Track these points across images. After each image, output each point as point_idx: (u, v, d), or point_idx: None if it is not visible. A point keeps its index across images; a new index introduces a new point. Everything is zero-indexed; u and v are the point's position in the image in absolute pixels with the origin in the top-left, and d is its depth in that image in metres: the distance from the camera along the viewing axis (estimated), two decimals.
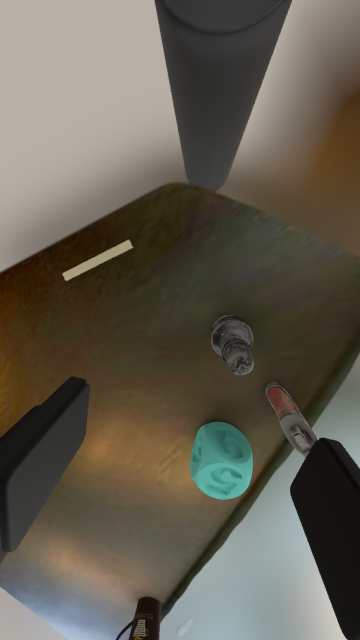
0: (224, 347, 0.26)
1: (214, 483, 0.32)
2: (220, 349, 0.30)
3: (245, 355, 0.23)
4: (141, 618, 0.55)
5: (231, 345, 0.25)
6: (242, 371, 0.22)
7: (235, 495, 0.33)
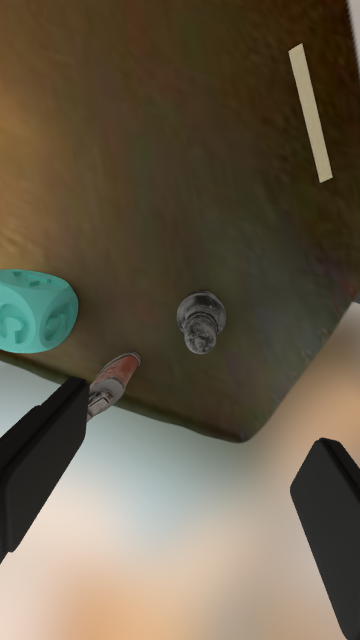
0: (207, 314, 0.21)
1: None
2: (189, 305, 0.24)
3: (213, 345, 0.18)
4: None
5: (212, 323, 0.21)
6: (199, 345, 0.17)
7: None
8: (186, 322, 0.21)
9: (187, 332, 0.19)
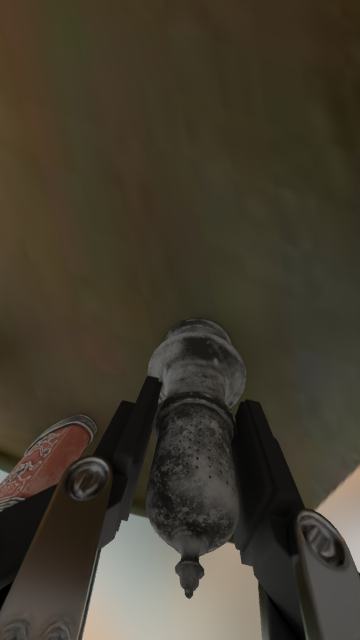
0: (210, 401, 0.08)
1: None
2: (172, 356, 0.12)
3: None
4: None
5: (223, 427, 0.08)
6: (187, 582, 0.05)
7: None
8: (159, 416, 0.09)
9: (151, 492, 0.06)
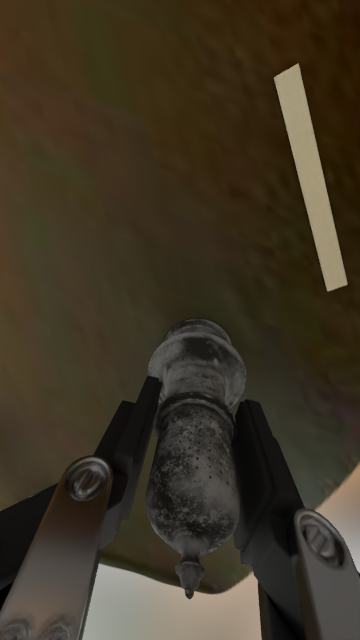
0: (210, 401, 0.08)
1: None
2: (172, 357, 0.12)
3: None
4: None
5: (223, 427, 0.08)
6: (188, 583, 0.05)
7: None
8: (159, 417, 0.09)
9: (151, 492, 0.06)
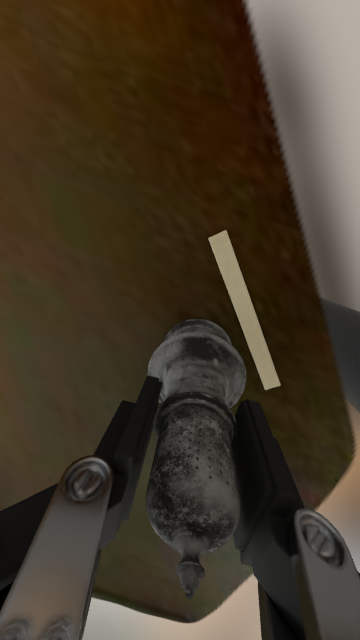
0: (210, 401, 0.08)
1: None
2: (172, 357, 0.12)
3: None
4: None
5: (223, 427, 0.08)
6: (188, 583, 0.05)
7: None
8: (159, 417, 0.09)
9: (151, 492, 0.06)
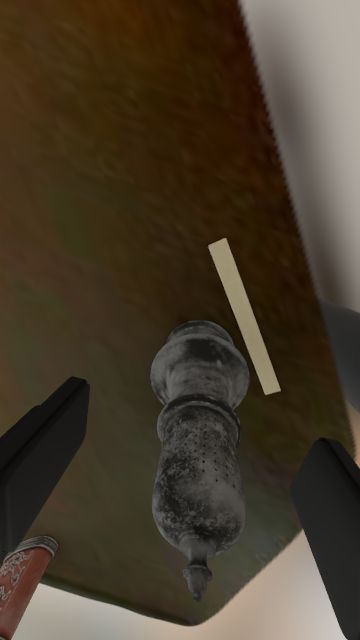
0: (214, 403, 0.08)
1: None
2: (175, 358, 0.12)
3: (239, 535, 0.06)
4: None
5: (228, 429, 0.08)
6: (196, 586, 0.05)
7: None
8: (163, 419, 0.09)
9: (158, 495, 0.06)
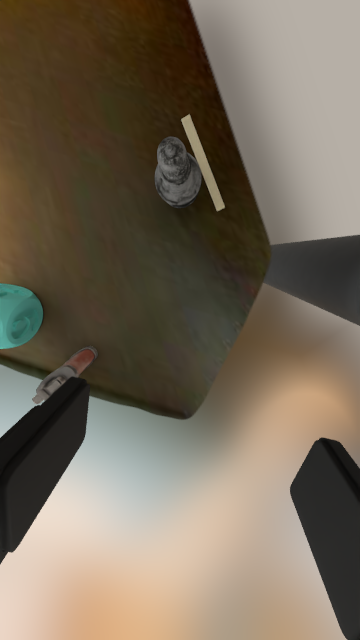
0: None
1: None
2: None
3: (183, 156, 0.20)
4: None
5: None
6: (169, 145, 0.18)
7: None
8: None
9: None
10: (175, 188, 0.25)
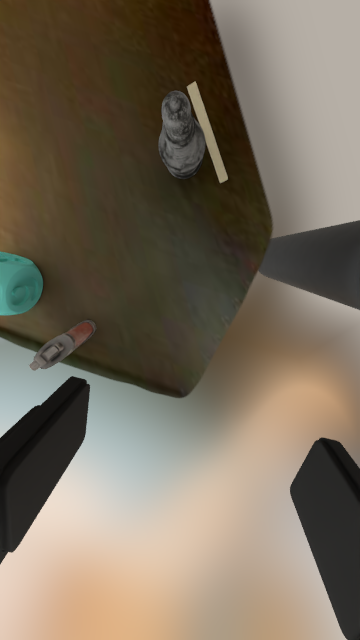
0: None
1: None
2: None
3: (188, 112, 0.20)
4: None
5: None
6: (173, 97, 0.18)
7: None
8: None
9: (163, 100, 0.20)
10: (179, 152, 0.25)
